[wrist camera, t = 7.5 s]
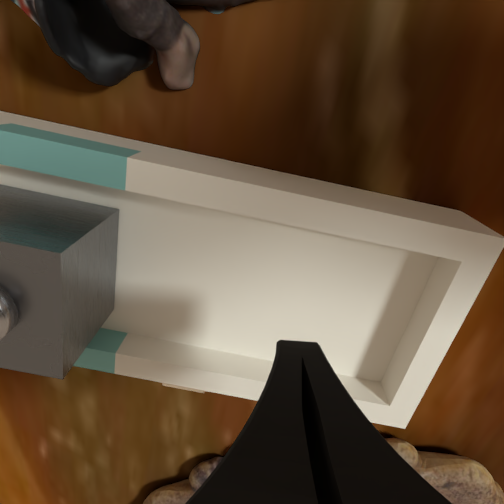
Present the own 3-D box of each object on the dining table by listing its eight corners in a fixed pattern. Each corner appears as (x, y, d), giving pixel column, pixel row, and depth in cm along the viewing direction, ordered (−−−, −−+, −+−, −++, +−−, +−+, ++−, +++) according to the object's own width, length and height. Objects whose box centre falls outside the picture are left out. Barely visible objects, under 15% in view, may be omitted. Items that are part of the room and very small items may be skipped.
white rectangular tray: (460, 210, 16) (507, 239, 13) (366, 413, 21) (383, 469, 18) (-28, 104, 15) (-107, 107, 12) (-2, 343, 20) (-52, 389, 17)
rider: (119, 209, 15) (49, 262, 10) (114, 309, 17) (53, 392, 12) (-3, 183, 14) (-133, 225, 10) (7, 288, 16) (-98, 364, 12)
